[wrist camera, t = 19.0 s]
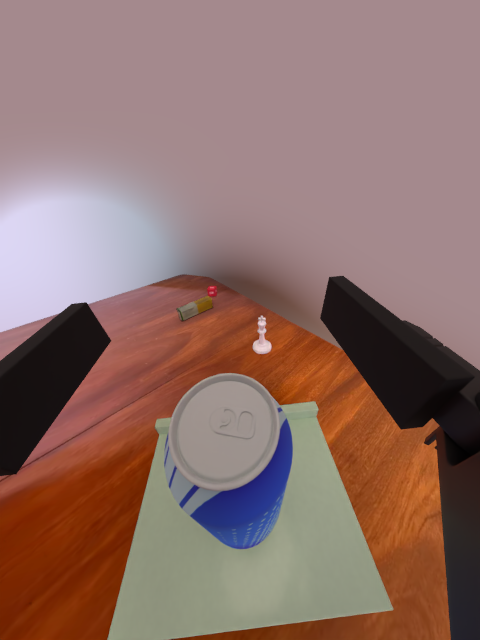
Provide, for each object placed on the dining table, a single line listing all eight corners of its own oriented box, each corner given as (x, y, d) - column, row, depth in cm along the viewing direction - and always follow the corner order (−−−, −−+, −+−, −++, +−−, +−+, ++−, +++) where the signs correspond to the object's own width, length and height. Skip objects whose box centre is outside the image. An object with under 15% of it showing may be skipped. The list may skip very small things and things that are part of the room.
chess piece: (269, 355, 47) (270, 323, 41) (250, 352, 48) (248, 321, 42) (272, 342, 51) (274, 311, 45) (254, 339, 52) (253, 309, 46)
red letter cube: (217, 292, 76) (216, 285, 75) (216, 296, 74) (214, 289, 72) (210, 292, 77) (208, 286, 75) (208, 296, 74) (207, 289, 73)
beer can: (235, 582, 16) (195, 590, 7) (190, 484, 21) (132, 411, 12) (297, 496, 20) (328, 424, 11) (245, 432, 25) (235, 347, 16)
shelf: (361, 602, 19) (405, 613, 13) (144, 630, 19) (90, 654, 13) (305, 433, 32) (315, 401, 26) (176, 448, 32) (156, 418, 26)
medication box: (182, 322, 62) (179, 312, 59) (178, 317, 63) (175, 308, 61) (213, 307, 67) (212, 298, 64) (209, 304, 69) (207, 294, 66)
